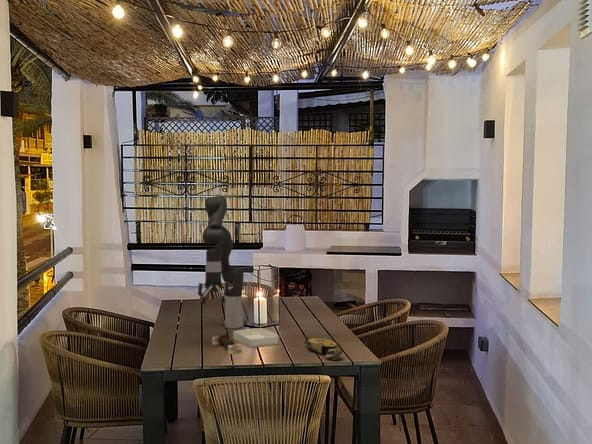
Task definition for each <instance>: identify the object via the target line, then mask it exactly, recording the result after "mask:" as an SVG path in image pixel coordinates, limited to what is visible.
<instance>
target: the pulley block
mask: <svg viewBox="0 0 592 444" xmlns="http://www.w3.org/2000/svg"><path fill="white" fill-rule="evenodd" d="M304 344H306V347H307V348H309V349H310V350H313V351H315V352H317V353H320V355H323V356H324V357H325V359H327V360H337V359H338V358H339V356H341V355H342V354H343V350H342V349H341V348H338V344H337V343H336V342H334V340H333V341H332V340H330V339H326V338H318V337H307V338H306V339H305V338H304Z"/></svg>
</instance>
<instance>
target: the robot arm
mask: <svg viewBox="0 0 592 444" xmlns="http://www.w3.org/2000/svg"><path fill="white" fill-rule="evenodd" d="M227 203H228V202H227V199H226V197H225V196H224V195H217V196H212V197H211V196H210V197H207V198H205V200H204V207H205V212H206V214H207V217H208V221H207V226H206V227H205V229H204V230H203V233H202V235H201V236H202V237H201V238H202V241H203V242H204V243H205V244H207V245H209V244H211V245H213V244H214V245H215V247H212V248H208V249H206V251H205V252H206V254H205V255H206V256H205V260H206V261H205V277H204V278H205V281H204V283H201V282H199V283H198V288H197V289H198V291H197V295H198V296H199V297H201V303H202V304H203V306H206V303H207V302H206V296H207V295H208V293H209V292H210V293H214V292H215V293H217V292H219V294H220V304H221V305H223V304H224V303H225V304H224V305H225V306H224V311H225V312H224V322H225V323H224V327H225V328H227V329H238V328H241V327H244V309H243V290H244V269H243V268H242V267H241V266H231V264H230V255H231V253H232V251H233V247H234V243H233V239H232V234H231V231H229V230H228V229H227V228H226V227H225V226H224V225H223V222H224V219H225V216H226V214H227V211H228V204H227ZM222 280H223V282H222ZM229 284H232V287H231V288H229ZM204 287H205V289H204V291H203V290H202V289H203V288H204ZM222 287H223V288H224V291H222V289H221V288H222ZM202 292H203V293H202Z"/></svg>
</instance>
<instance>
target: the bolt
mask: <svg viewBox="0 0 592 444" xmlns="http://www.w3.org/2000/svg"><path fill="white" fill-rule="evenodd" d="M219 336H220V337H219V339H218V342H219V343H220V344H219V345H220V346H224V347H225V349H226V350H227V351H228V346H229V345H236V343H235V342H234V341H233V339H232V340H231V339H230V337H229V336H228V334H227V333H226V334H220V335H219Z"/></svg>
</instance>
